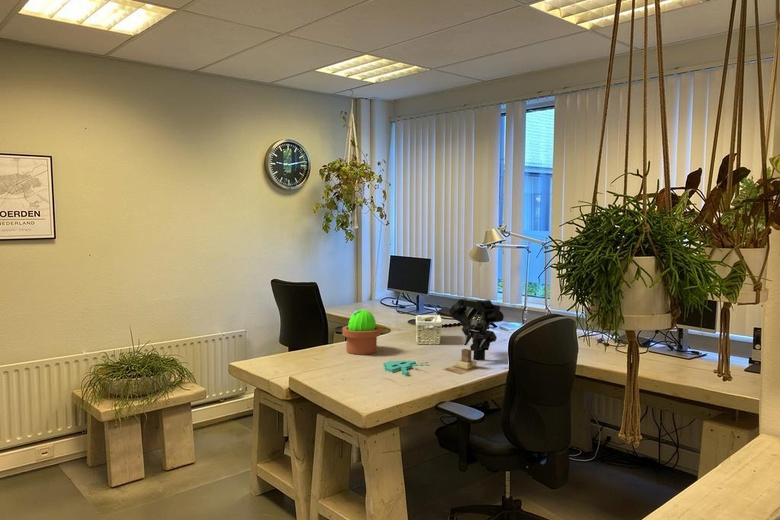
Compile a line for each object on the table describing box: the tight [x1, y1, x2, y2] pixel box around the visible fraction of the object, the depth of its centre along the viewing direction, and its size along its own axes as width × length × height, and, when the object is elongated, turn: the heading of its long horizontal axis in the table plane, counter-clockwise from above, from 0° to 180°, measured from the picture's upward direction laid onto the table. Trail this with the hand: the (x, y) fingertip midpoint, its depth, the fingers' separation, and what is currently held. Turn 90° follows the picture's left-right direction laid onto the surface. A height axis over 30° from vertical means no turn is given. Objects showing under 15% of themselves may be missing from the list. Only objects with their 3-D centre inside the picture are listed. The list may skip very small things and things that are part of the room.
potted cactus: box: [342, 309, 382, 356], centre depth 330 cm, size 22×22×25 cm
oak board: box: [441, 364, 482, 375], centre depth 291 cm, size 18×12×2 cm, turn 137°
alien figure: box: [383, 359, 430, 377], centre depth 296 cm, size 20×2×20 cm
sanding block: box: [455, 348, 477, 370], centre depth 293 cm, size 8×7×9 cm
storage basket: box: [415, 314, 443, 345], centre depth 359 cm, size 24×16×15 cm
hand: (472, 346), depth 296 cm, fingers open, 9 cm apart
